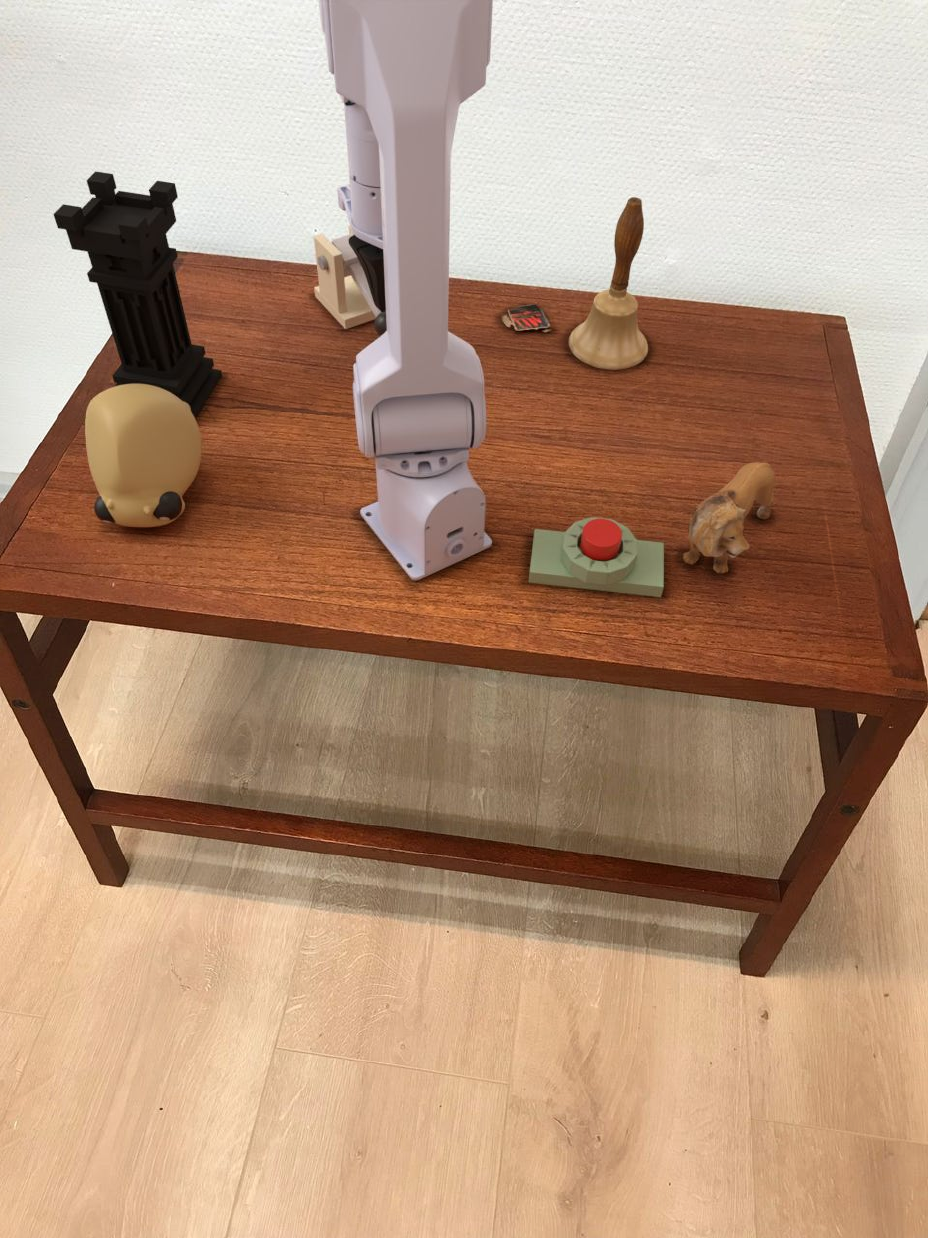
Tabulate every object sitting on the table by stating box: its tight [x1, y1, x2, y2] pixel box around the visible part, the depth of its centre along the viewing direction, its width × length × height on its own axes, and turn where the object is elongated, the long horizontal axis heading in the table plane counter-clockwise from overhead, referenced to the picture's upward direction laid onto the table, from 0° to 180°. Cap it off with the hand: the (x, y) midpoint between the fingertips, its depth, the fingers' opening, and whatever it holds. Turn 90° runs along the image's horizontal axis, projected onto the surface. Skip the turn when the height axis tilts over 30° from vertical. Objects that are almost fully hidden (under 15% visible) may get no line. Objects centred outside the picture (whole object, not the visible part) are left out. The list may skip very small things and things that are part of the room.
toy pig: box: [84, 384, 203, 528], centre depth 83 cm, size 10×12×11 cm
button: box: [580, 518, 622, 561], centre depth 80 cm, size 3×3×2 cm
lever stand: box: [313, 224, 376, 330], centre depth 102 cm, size 7×6×8 cm
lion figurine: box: [682, 461, 776, 574], centre depth 81 cm, size 15×5×9 cm, turn 151°
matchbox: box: [500, 303, 553, 333], centre depth 104 cm, size 5×5×1 cm
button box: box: [527, 516, 665, 598], centre depth 81 cm, size 11×6×3 cm, turn 83°
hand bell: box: [568, 196, 649, 371], centre depth 96 cm, size 8×8×16 cm
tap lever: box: [331, 234, 387, 337], centre depth 100 cm, size 12×3×3 cm, turn 33°
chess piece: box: [52, 170, 223, 420], centre depth 88 cm, size 8×8×20 cm
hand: (387, 306), depth 97 cm, fingers closed
